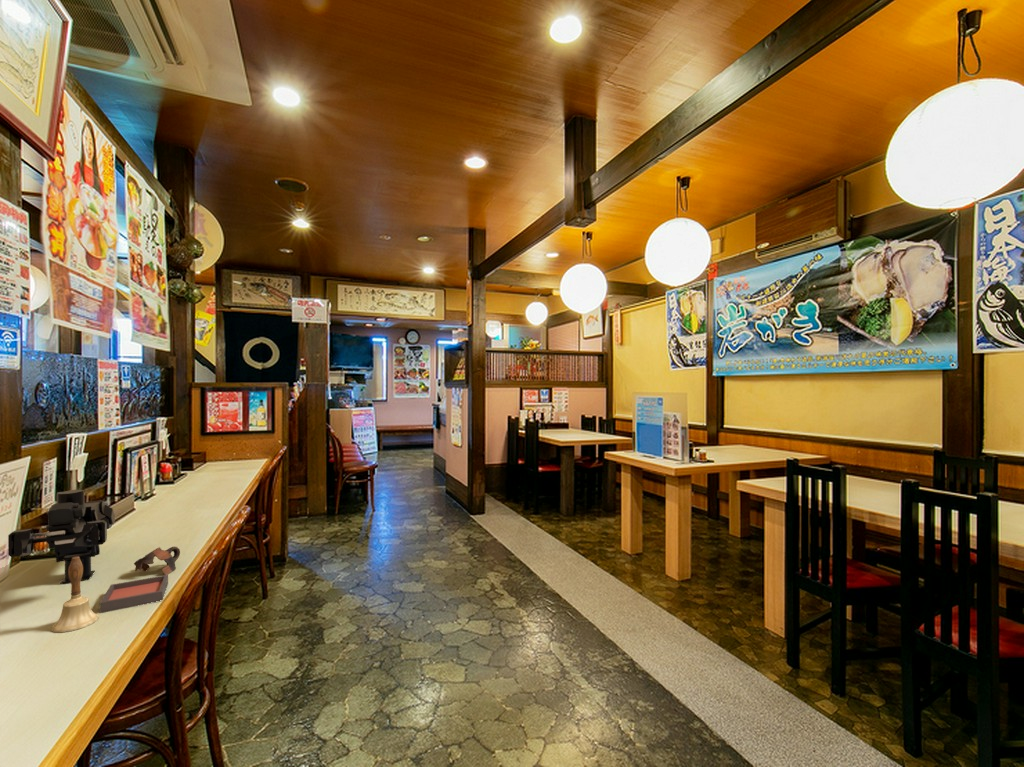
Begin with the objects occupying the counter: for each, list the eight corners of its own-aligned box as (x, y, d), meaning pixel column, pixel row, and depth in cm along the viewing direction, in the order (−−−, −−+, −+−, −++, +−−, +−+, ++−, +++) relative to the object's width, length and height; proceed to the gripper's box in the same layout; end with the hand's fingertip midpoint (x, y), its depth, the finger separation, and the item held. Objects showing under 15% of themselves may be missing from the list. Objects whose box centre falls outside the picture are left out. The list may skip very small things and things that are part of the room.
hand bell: (107, 617, 115) (107, 552, 115) (69, 634, 107) (68, 564, 107) (81, 613, 117) (81, 549, 117) (41, 630, 109) (41, 561, 109)
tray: (111, 593, 128) (110, 584, 128) (168, 583, 134) (168, 574, 134) (99, 613, 117) (99, 603, 117) (162, 600, 123) (162, 591, 123)
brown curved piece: (158, 581, 137) (141, 558, 136) (139, 591, 140) (122, 569, 139) (193, 556, 148) (178, 535, 147) (175, 566, 151) (160, 545, 150)
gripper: (20, 505, 125) (-5, 520, 112) (111, 496, 135) (98, 509, 121) (21, 547, 125) (-5, 567, 112) (111, 535, 135) (98, 552, 121)
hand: (49, 547), depth 116 cm, fingers open, 9 cm apart
